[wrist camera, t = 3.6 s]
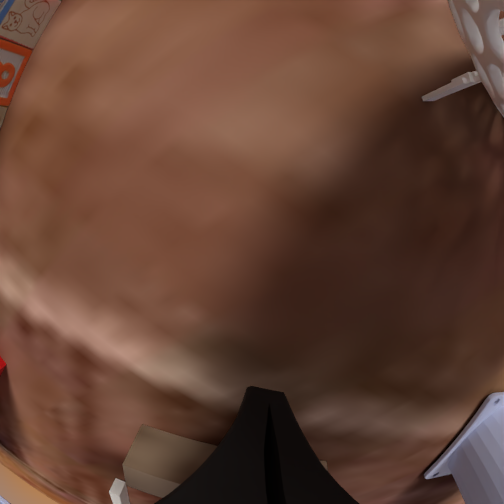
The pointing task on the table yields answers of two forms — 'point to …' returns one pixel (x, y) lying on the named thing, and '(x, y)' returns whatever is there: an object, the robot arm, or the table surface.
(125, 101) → the table surface
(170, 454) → the walnut T-block
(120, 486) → the white u-shaped bracket
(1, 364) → the puzzle toy
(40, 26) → the stack of blocks
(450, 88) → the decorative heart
